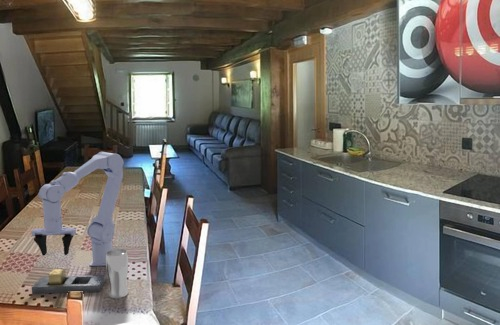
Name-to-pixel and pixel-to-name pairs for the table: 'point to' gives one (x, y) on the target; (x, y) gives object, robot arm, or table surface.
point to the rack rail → (70, 284)
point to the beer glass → (117, 272)
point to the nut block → (57, 277)
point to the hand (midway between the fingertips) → (55, 254)
